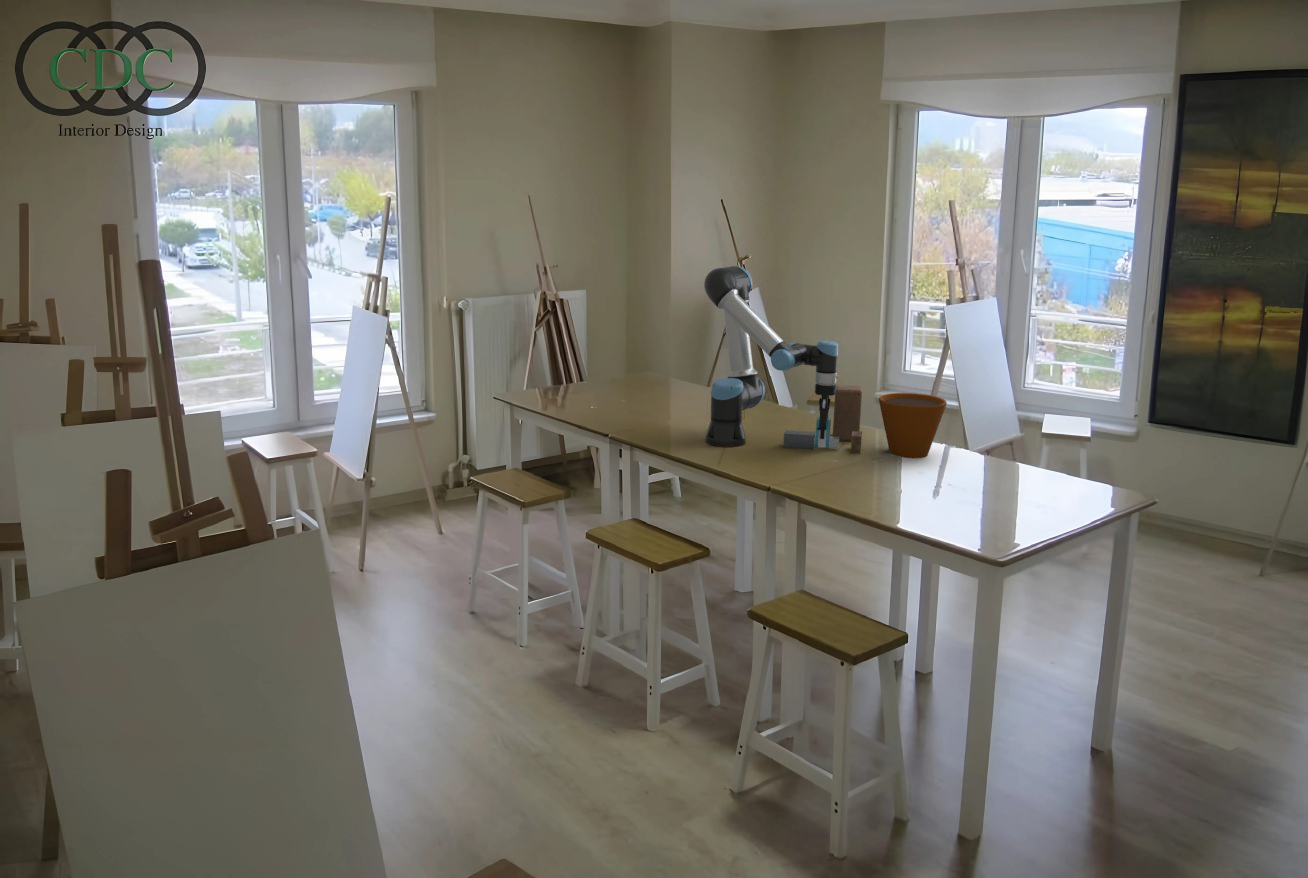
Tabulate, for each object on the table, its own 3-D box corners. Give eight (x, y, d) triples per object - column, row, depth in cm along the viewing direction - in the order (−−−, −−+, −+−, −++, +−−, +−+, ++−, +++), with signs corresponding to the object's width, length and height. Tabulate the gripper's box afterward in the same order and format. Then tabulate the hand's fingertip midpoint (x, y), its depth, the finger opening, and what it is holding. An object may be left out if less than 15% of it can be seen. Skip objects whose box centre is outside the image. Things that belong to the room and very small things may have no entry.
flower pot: (953, 460, 373) (958, 405, 368) (889, 462, 369) (893, 407, 364) (925, 444, 396) (930, 392, 391) (865, 445, 392) (869, 393, 387)
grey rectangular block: (783, 447, 387) (784, 433, 385) (784, 444, 392) (785, 430, 391) (813, 449, 384) (814, 435, 383) (814, 446, 390) (815, 431, 388)
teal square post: (786, 445, 387) (787, 417, 384) (787, 442, 391) (788, 415, 388) (838, 448, 383) (840, 420, 380) (838, 445, 387) (840, 418, 385)
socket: (850, 453, 381) (851, 435, 379) (851, 447, 388) (852, 430, 387) (860, 454, 380) (861, 436, 378) (860, 448, 387) (862, 431, 386)
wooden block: (858, 442, 397) (862, 390, 392) (832, 440, 399) (835, 388, 394) (859, 435, 407) (862, 385, 402) (833, 434, 409) (836, 384, 404)
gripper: (834, 389, 370) (831, 451, 375) (837, 379, 390) (833, 438, 395) (813, 388, 371) (810, 450, 377) (817, 377, 391) (813, 436, 397)
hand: (822, 444), depth 386 cm, fingers open, 8 cm apart
